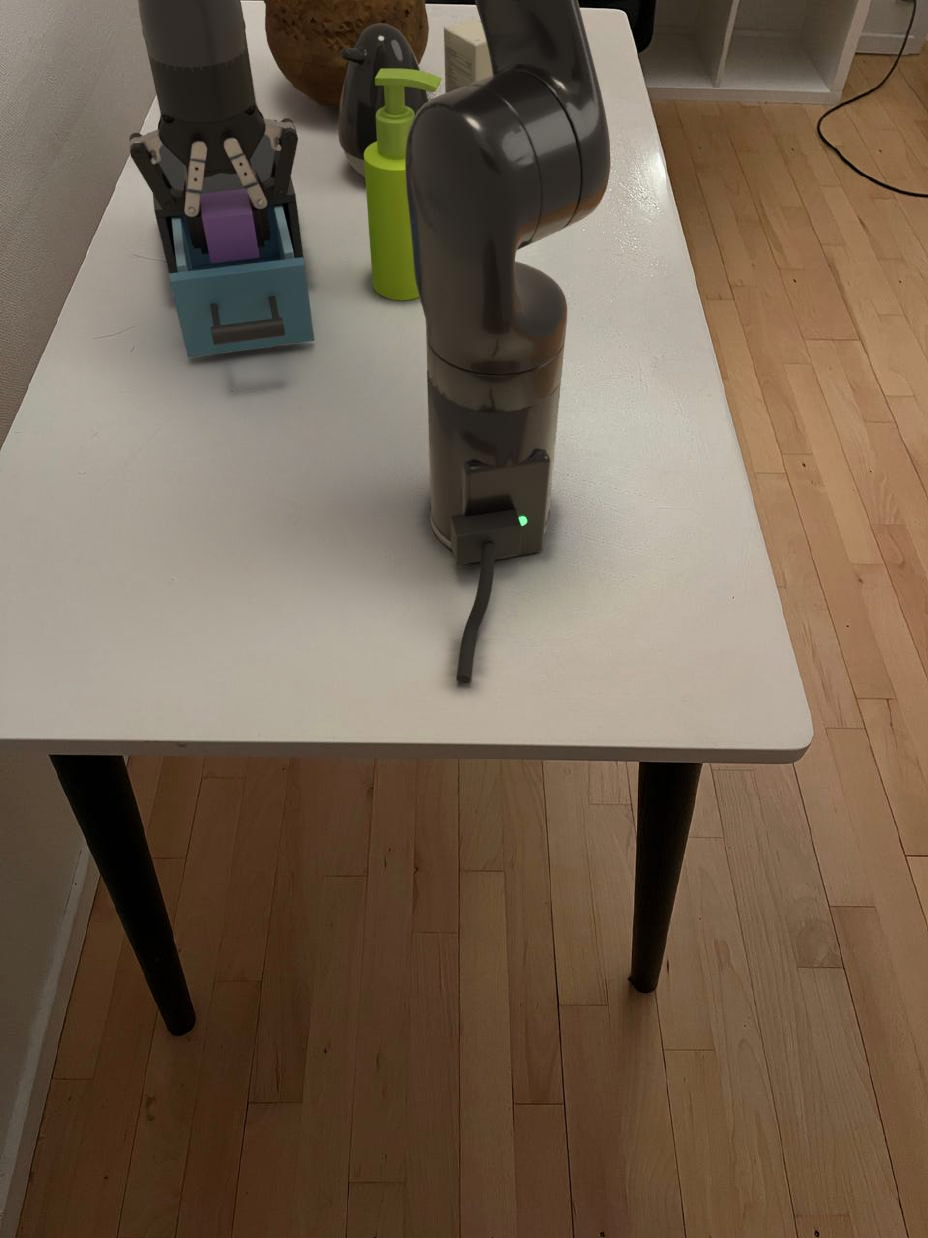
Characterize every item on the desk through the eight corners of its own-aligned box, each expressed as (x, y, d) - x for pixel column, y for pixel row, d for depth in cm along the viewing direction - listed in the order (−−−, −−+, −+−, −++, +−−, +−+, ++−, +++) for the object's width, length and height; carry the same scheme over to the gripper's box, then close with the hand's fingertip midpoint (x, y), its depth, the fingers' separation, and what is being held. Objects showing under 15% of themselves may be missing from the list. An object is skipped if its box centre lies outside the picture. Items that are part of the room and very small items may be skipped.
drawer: (322, 373, 93) (313, 297, 87) (191, 392, 91) (172, 315, 85) (295, 260, 105) (285, 185, 99) (178, 274, 103) (161, 199, 97)
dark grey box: (307, 286, 103) (295, 193, 96) (176, 303, 101) (154, 209, 94) (288, 209, 112) (276, 119, 105) (167, 223, 110) (147, 132, 103)
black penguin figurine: (321, 172, 117) (306, 25, 105) (388, 139, 122) (381, -5, 110) (385, 205, 113) (377, 56, 101) (452, 169, 118) (452, 23, 106)
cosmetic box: (506, 149, 121) (510, 36, 111) (475, 160, 119) (476, 45, 110) (474, 127, 124) (475, 15, 115) (443, 137, 122) (442, 24, 113)
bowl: (382, 53, 137) (375, -79, 125) (458, 111, 127) (458, -27, 115) (248, 87, 130) (228, -49, 119) (317, 151, 120) (302, 9, 109)
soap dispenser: (435, 305, 101) (432, 92, 86) (366, 296, 102) (349, 84, 87) (448, 271, 105) (447, 61, 90) (381, 263, 106) (368, 54, 90)
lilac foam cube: (259, 257, 92) (252, 213, 89) (211, 263, 92) (202, 218, 89) (254, 232, 95) (247, 188, 92) (207, 237, 94) (198, 193, 91)
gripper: (100, 71, 77) (152, 279, 90) (296, 53, 79) (319, 259, 92) (99, 28, 81) (149, 233, 95) (284, 12, 83) (307, 214, 97)
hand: (233, 245), depth 93 cm, fingers closed on lilac foam cube, 4 cm apart
